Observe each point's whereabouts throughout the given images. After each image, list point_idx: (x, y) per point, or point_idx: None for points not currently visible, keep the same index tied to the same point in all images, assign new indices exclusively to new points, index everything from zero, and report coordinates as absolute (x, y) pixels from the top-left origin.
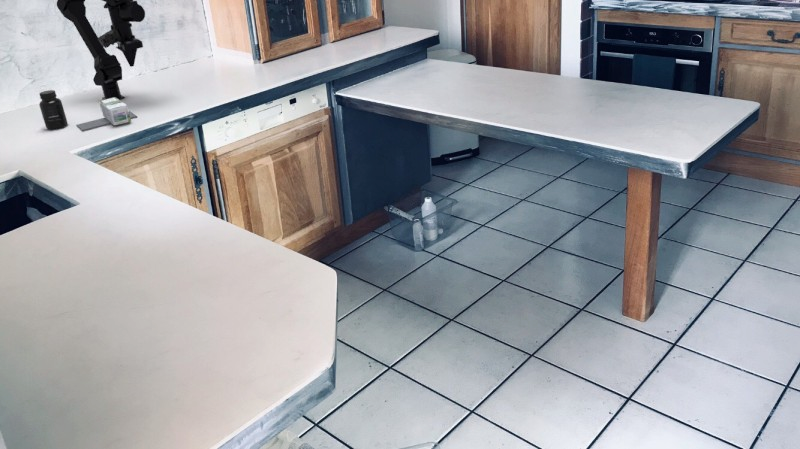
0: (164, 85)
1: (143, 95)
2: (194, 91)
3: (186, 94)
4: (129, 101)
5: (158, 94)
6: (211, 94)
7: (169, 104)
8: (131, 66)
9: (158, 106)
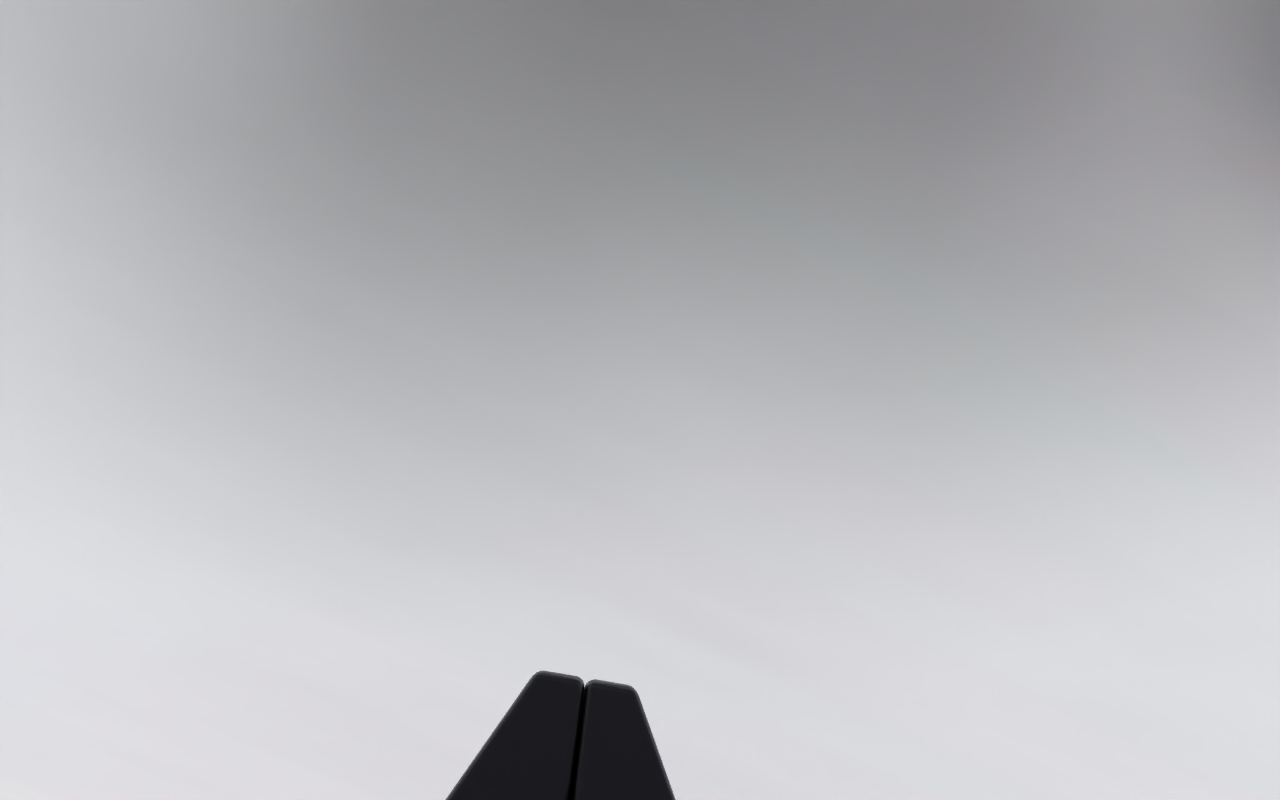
0: (1185, 766)
1: (1064, 371)
2: (408, 757)
3: (362, 658)
4: (996, 16)
5: (815, 507)
6: (55, 761)
7: (11, 294)
8: (536, 687)
9: (38, 136)
